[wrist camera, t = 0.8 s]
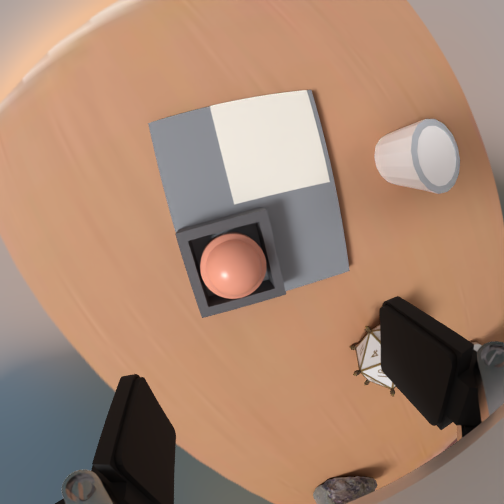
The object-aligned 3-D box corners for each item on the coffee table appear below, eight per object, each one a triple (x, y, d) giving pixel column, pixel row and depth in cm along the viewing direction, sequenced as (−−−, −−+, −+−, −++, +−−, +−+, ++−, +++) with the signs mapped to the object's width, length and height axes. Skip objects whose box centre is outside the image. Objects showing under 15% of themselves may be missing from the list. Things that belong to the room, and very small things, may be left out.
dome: (267, 280, 26) (279, 298, 21) (210, 296, 25) (211, 317, 21) (253, 223, 24) (263, 231, 20) (193, 239, 24) (190, 251, 20)
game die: (346, 321, 34) (350, 319, 25) (408, 311, 32) (433, 305, 23) (350, 389, 32) (355, 409, 23) (413, 378, 30) (438, 394, 21)
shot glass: (392, 116, 26) (434, 104, 19) (425, 163, 28) (468, 162, 21) (357, 154, 26) (398, 148, 20) (395, 203, 28) (438, 209, 21)
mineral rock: (375, 476, 42) (394, 507, 32) (332, 500, 42) (347, 533, 32) (355, 461, 38) (377, 500, 28) (305, 489, 38) (320, 528, 29)
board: (345, 268, 29) (361, 278, 25) (202, 310, 27) (201, 326, 24) (307, 92, 24) (320, 81, 21) (150, 125, 23) (142, 116, 19)
